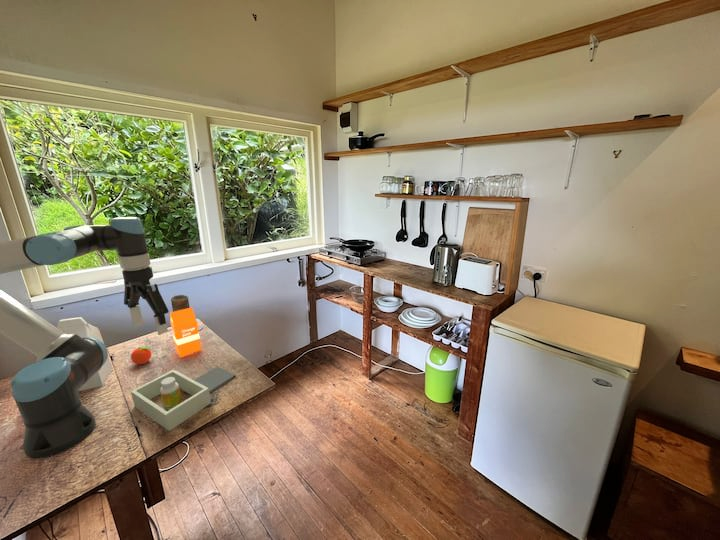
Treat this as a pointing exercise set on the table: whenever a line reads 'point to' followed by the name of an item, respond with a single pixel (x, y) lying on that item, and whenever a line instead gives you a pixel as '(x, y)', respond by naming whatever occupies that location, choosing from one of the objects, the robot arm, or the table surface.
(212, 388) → the slate mat
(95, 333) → the milk
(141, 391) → the open box
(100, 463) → the table surface
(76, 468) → the table surface
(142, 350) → the clementine
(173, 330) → the orange juice
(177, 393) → the supplement bottle
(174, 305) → the brown rounded bar
